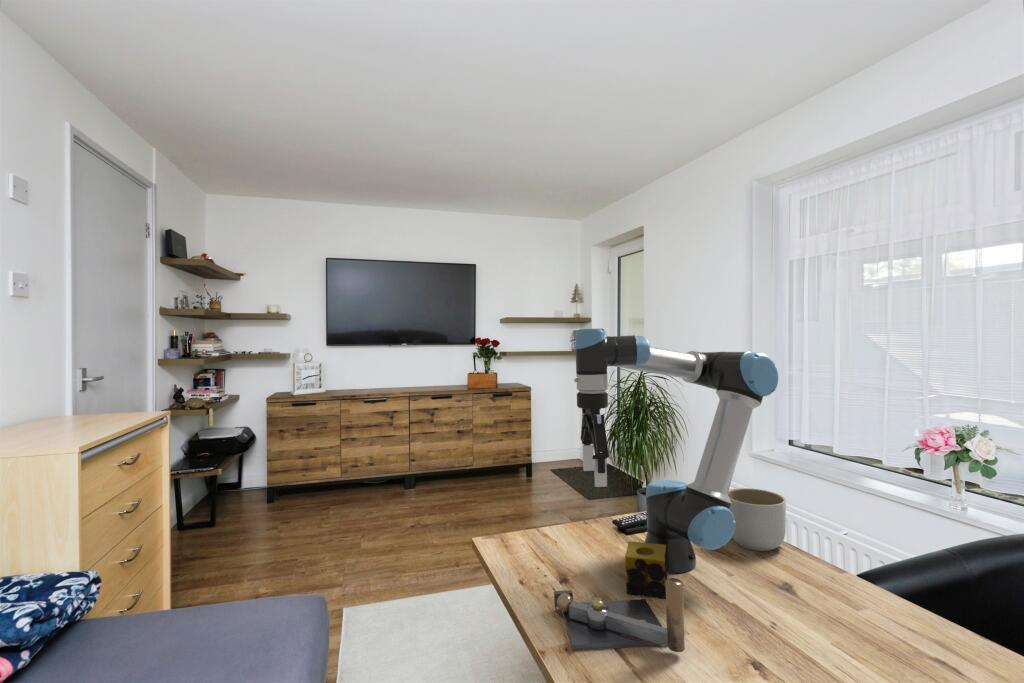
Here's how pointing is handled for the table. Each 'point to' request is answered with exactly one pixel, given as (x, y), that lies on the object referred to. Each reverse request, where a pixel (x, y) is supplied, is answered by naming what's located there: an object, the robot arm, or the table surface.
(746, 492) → the planter
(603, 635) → the base
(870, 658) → the table surface
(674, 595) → the lever
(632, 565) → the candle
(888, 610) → the table surface
